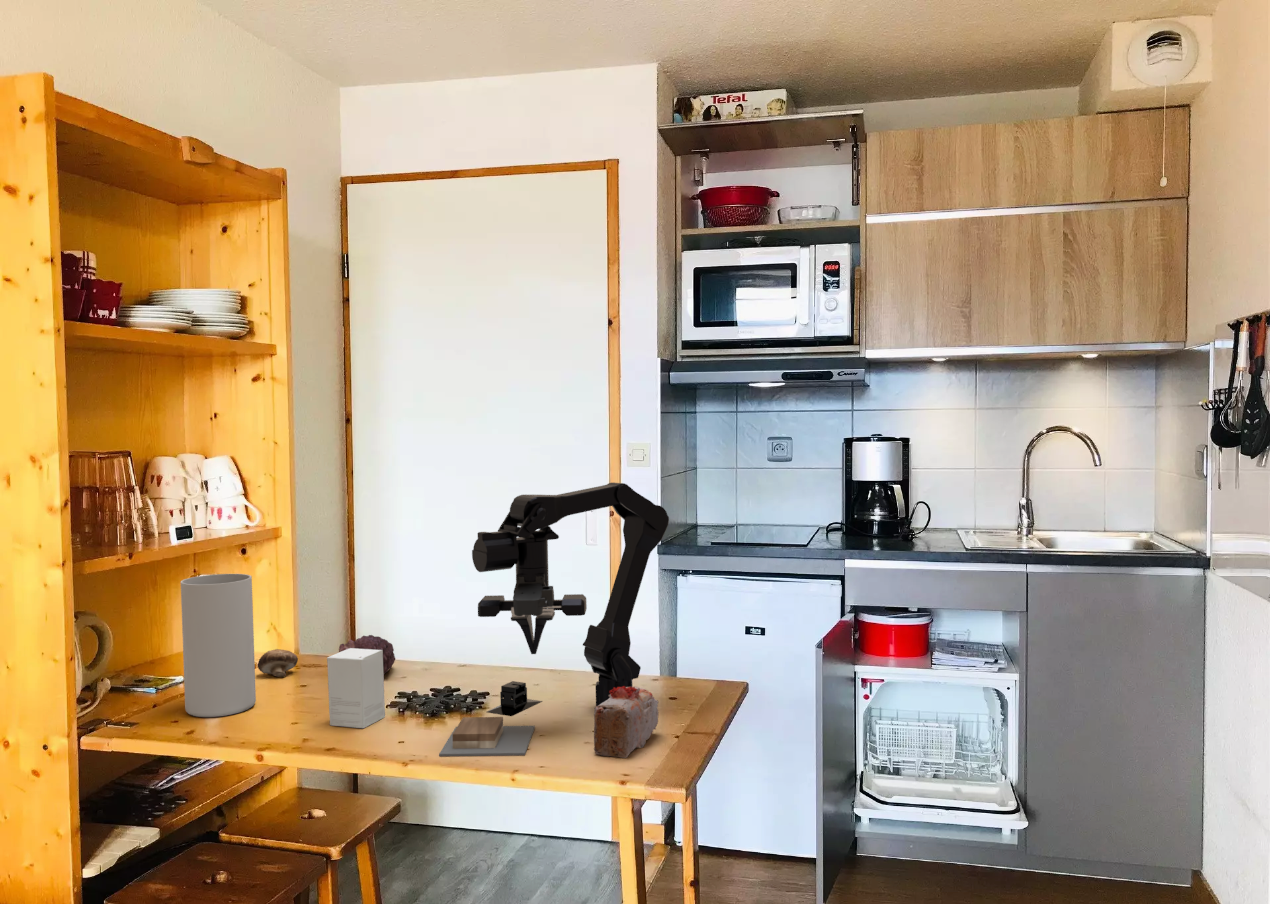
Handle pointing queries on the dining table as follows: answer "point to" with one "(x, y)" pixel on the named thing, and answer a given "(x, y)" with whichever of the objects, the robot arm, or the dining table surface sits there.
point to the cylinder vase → (218, 644)
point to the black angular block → (513, 699)
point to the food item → (624, 721)
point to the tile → (478, 732)
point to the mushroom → (277, 662)
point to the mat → (509, 744)
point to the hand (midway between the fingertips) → (533, 653)
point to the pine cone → (373, 648)
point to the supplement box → (356, 687)
